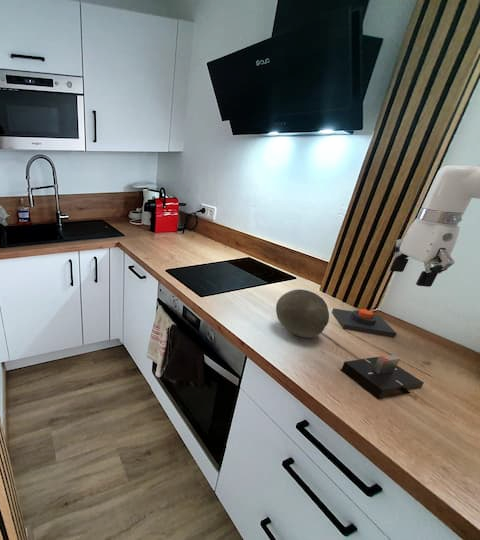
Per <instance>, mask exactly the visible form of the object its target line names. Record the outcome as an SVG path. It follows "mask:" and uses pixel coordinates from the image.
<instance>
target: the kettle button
mask: <svg viewBox="0 0 480 540" xmlns="http://www.w3.org/2000/svg"><path fill="white" fill-rule="evenodd" d="M358 310H359V312H358V315H359V316H361V317H364V318H367V319H371V318H372V315H374V313H373V311H371V310H369V309H365V308H360V309H358Z"/></svg>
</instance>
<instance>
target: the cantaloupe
mask: <svg viewBox="0 0 480 540" xmlns="http://www.w3.org/2000/svg"><path fill="white" fill-rule="evenodd" d="M275 312H276V317H277V320H278V321H279V323H280V324H281V325H282V326H283V328H285V329H286V331H288V332H289V333H291V334H293V335H295V336H298V337H301V338H314V337H318V336H319V335H321V334H322V333H323V332H324V330H325V328H326V327H327V326H328V324H329V320H330V312H329V307H328V305H327V302H326V301H325V300H324V299H323V297H321V296H320V295H319V294H317V293H315V292H313V291H311V290H306V289H300V288H299V289H293V290H290V291H288V292H285V293H283V294H282V295H281V296H280V297H279V298H278V300H277V301H276V304H275Z"/></svg>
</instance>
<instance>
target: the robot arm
mask: <svg viewBox="0 0 480 540" xmlns="http://www.w3.org/2000/svg"><path fill="white" fill-rule="evenodd" d="M473 199H478V200H480V166H475V165H461V164H460V165H459V164H458V165H457V164H456V165H455V164H450V165H447V164H446V165H444V166H442V167H441V168H440V169H439V170H437V173H436V175H435V177H434V179H433V181H432V184H431V186H430V188H429V191H428V192H427V195H426V197H425V199H424V201H423V202H422V205H421V208H420V210H419V212H418V214H417V217H416V218H415V219H414V221H413V222H412V224H411V225H410V226H409V228H408V230H407V231H406V233H405V235H404V237H403V238H400V239H396V240H395V247H394V255H393V256H394V259H393V261H392V263H391V265H390V268H389V271H391V272H395V273H396V272H397V273H402V272H404V271H405V268H406V267H407V264H408V262H409V258H412V259H413V260H416V261H418V262H420V263H423V265H424V270H422V271H421V273H420V274H419V277H418V279H417V280H416V282H415V285H417V286H418V287H426V288H427V287H428V288H430V287H432V285H433V284H434V282H435V280H436V278H437V276H438V275H439V274H442V272H445V271H447V270H448V269H449V268H450V267H452V266H453V265H454V264H455V260H454V258H453V257H452V256H451V255H452V252H453V251H454V248H455V245H456V243H457V241H458V240H457V239H458V237H459V233H460V226H459V224H460V223H461V222H462V220H463V216H464V215H465V212H466V210H467V208H468V206H469V205H470V203H471V201H472V200H473ZM432 265H433V266H432Z"/></svg>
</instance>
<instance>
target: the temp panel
mask: <svg viewBox="0 0 480 540" xmlns="http://www.w3.org/2000/svg"><path fill="white" fill-rule="evenodd" d="M379 357H380V356H374V357H367V358H360V359H354V360H347V361H344V362H343V364H342V367H341V369H340V371H341V372H342V373H344V374H345V375H346V376H348V378H350V379H351V380H352V381H354V382H355V383H356V384H357V385H359V386H360V387H362V388H363V389H364V390H366V391H367V392H368V393H369V394H370V395H372V396H373V397H374V398H375V399H377V400H381V399H386V398H387V399H388V398H392V397H399V396H402V395H404V396H405V395H409V394H412V392H411V391H410V390H416V389H421V388H422V387H423V385H424V384H425V382H424V381H422V380H421V379H419V378H417V377H416V376H414V375H413V374H412V373H410V372H408V371H407V370H405V369H403V368H402V367H401V366H399V365H397V366H396V368H395V370H394V372H392V373H386V374H380V375H378V374H376V373H375V372H373V371H372V370H373V368H374V366H375V364H376V362H377V360H378V358H379Z"/></svg>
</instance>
